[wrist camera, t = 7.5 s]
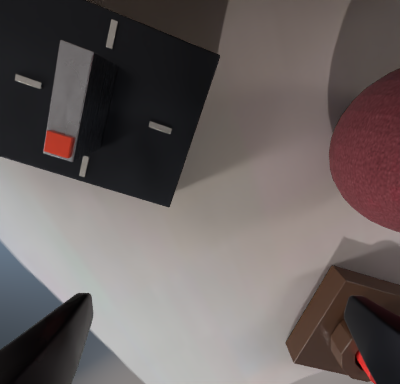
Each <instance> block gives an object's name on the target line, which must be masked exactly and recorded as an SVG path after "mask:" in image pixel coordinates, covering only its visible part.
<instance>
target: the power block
mask: <svg viewBox="0 0 400 384" xmlns="http://www.w3.org/2000/svg"><path fill="white" fill-rule="evenodd" d="M352 295H361V296H364V297H366V298H368V299H369V300H371V301H373V302H375V303H377V304H378V305H380V306H382V307H384V308H385V309H387V310H389V311H391V312H393V313H394V314H396V315H398V316H400V285H397V284H394V283H391V282H387V281H384V280H381V279H377V278H374V277H370V276H367V275H364V274H360V273H357V272H354V271H350V270H347V269H343V268H340V267H337V266H333V265H332V266H331V268H330V269H329V271H328V273H327V274H326V276H325V278H324V279H323V281H322V283H321V284H320V286H319V288H318V289H317V291H316V293H315V294H314V296H313V298H312V299H311V301H310V303H309V305H308V306H307V308H306V310H305V311H304V313H303V315H302V316H301V318H300V320H299V321H298V323H297V325H296V326H295V328H294V330H293V331H292V333H291V335H290V336H289V338H288V340H287V341H286V345H287V348H288V350H289V353H290V355H291V358H292V360H293V362H294V363H295V364H300V365H304V366H309V367H313V368H318V369H322V370H327V371H331V372H336V373H340V374H345V375H349V376H350V377H351V378H353V379H357V380H362V381H366V382H369V381H371V380H370V379H369V377H368V376H367V374H366V373H365V371H364V370H363V368H362V367H361V365H360V364H359V362H358V360H357V358H356V352H357V351H358V348H357V345H356V343H355V341H354V339H353V337H352V335H351V333H350V331H349V328H348V326H347V324H346V322H345V319H344V311H345V308H346V304H347V301H348V298H349V297H350V296H352Z"/></svg>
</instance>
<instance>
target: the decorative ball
mask: <svg viewBox="0 0 400 384" xmlns="http://www.w3.org/2000/svg"><path fill="white" fill-rule="evenodd" d="M329 159H330V170H331V174H332V177H333V180H334V182H335V184H336V186H337V188H338V190H339V191H340V193H341V195H342V196H343V198H344V199H345V200H346V201H347V202H348V203H349V204H350V205H351V206H352V207H353V208H354V209H355V210H356V211H358V212H359V213H360V214H361V215H363V216H364V217H366V218H367V219H369V220H370V221H373V222H375V223H377V224H379V225H381V226H383V227H386V228H389V229H391V230H394V231H398V232H400V68H399V69H397V70H395V71H393V72H391V73H389V74H387V75H385V76H384V77H382V78H381V79H379V80H377V81H376V82H375V83H373V84H372V85H370V86H369V87H367V88H366V89H365V90H363V91H362V92H361V93H360V94H359V95H358V96H357V97H356V98H355V99H354V100H353V101H352V103H351V104H350V105H349V106H348V108H347V109H346V110H345V112H344V113H343V114H342V116H341V118H340V119H339V121H338V123H337V125H336V127H335V129H334V132H333V135H332V138H331V143H330V150H329Z"/></svg>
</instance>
